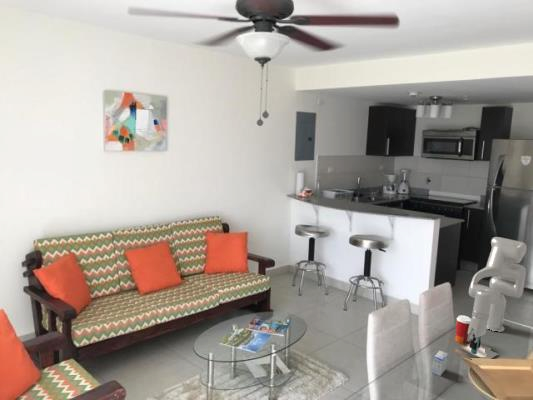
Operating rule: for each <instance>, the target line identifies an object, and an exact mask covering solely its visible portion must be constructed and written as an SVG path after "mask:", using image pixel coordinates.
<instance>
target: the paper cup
mask: <svg viewBox="0 0 533 400" xmlns="http://www.w3.org/2000/svg"><path fill="white" fill-rule="evenodd" d="M470 321H471V317H469V316H467V315H458V316H457V317H456V327H455V328H456V329H455V337H454V338H455V340H454V342H456V343H458V344H460V345H467V342H468V339H469V335H468V328H469V324H470Z"/></svg>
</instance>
